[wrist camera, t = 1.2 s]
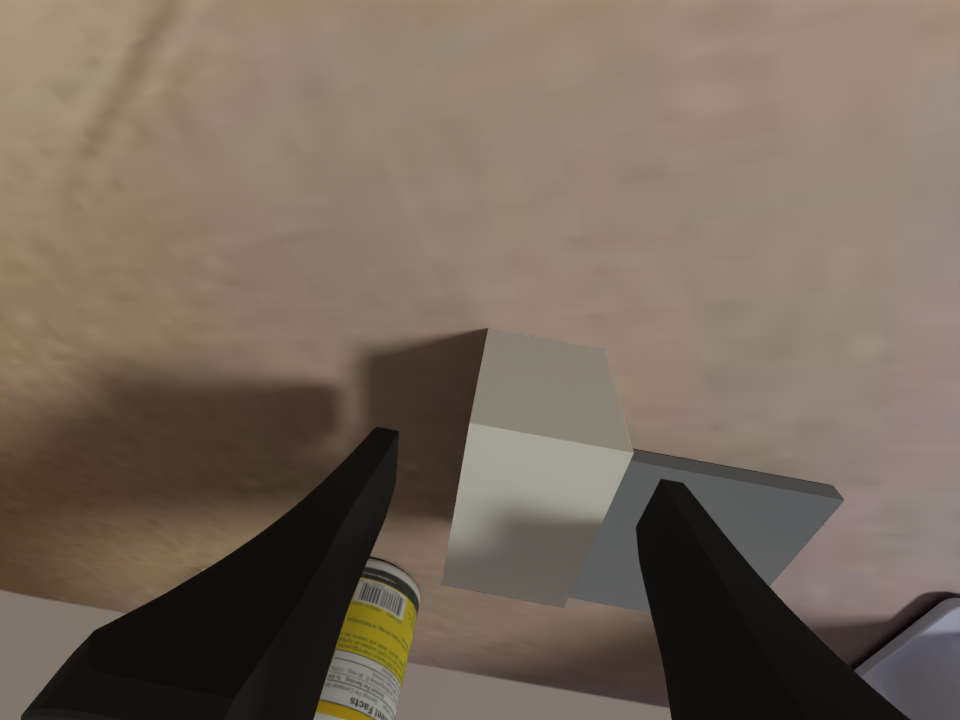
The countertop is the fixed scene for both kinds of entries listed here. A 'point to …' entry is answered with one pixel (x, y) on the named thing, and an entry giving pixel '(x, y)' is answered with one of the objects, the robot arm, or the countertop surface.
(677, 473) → the coaster
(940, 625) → the robot arm
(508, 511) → the block
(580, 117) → the countertop surface
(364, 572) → the supplement bottle
